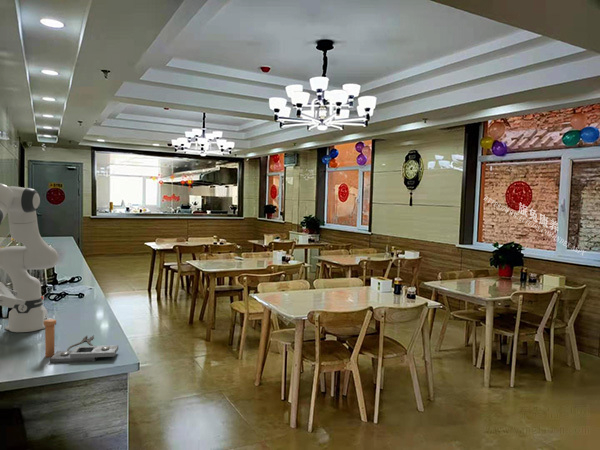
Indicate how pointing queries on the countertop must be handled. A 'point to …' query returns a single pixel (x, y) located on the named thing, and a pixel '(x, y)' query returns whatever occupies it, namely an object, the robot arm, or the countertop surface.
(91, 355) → the grey latch
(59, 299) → the countertop surface
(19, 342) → the countertop surface
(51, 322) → the pin
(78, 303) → the countertop surface
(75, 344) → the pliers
